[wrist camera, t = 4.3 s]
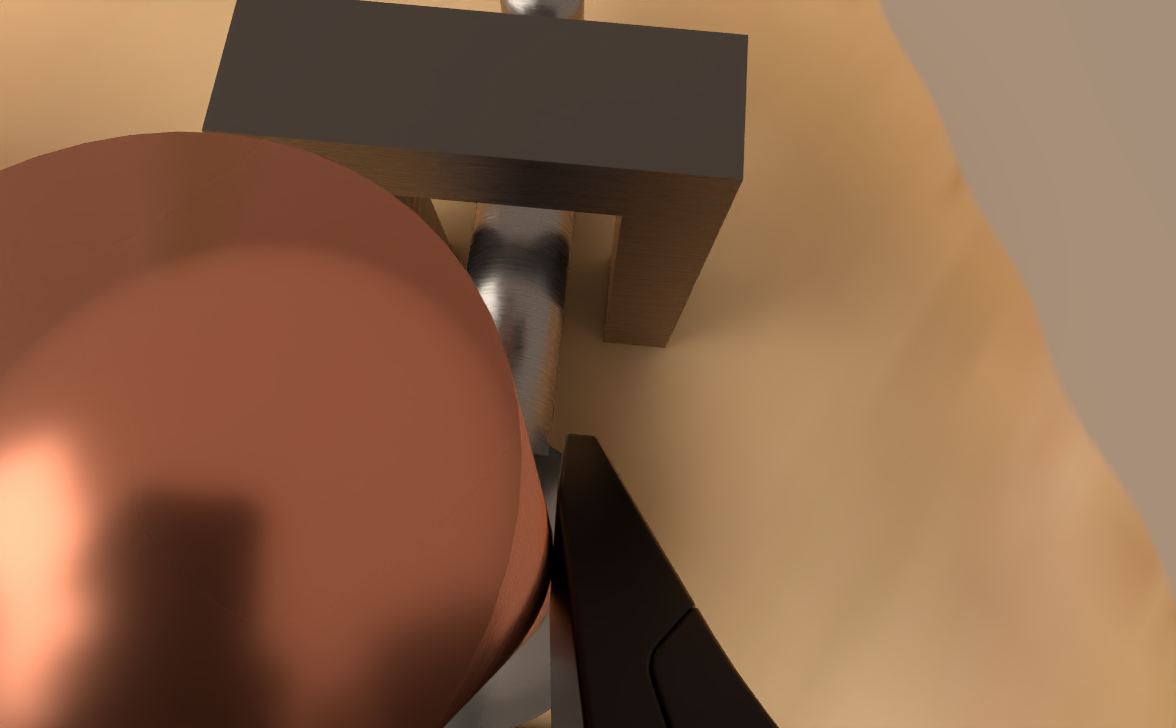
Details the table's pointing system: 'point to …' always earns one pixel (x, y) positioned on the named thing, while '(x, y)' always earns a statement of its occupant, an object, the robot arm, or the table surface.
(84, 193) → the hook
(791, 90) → the table surface
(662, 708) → the robot arm
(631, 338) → the brown square arch
